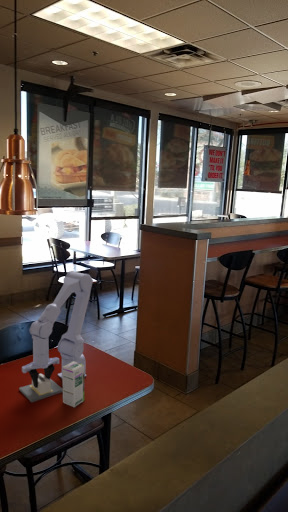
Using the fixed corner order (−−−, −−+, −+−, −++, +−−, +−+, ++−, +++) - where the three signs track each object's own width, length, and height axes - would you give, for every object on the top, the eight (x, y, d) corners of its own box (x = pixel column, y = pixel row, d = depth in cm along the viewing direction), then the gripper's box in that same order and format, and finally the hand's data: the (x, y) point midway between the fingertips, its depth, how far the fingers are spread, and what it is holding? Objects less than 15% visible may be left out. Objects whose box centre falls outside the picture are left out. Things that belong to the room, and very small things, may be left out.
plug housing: (41, 382, 158) (41, 371, 157) (50, 391, 152) (50, 379, 151) (32, 385, 156) (31, 374, 155) (41, 394, 150) (41, 382, 149)
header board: (50, 380, 162) (50, 371, 162) (63, 391, 154) (63, 382, 153) (19, 390, 154) (19, 380, 154) (31, 402, 146) (31, 392, 145)
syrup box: (74, 407, 143) (74, 370, 141) (62, 402, 146) (62, 365, 144) (84, 401, 148) (85, 364, 146) (72, 396, 151) (72, 360, 149)
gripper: (27, 360, 144) (27, 395, 146) (63, 350, 153) (63, 383, 155) (19, 353, 149) (19, 387, 151) (54, 344, 158) (54, 376, 161)
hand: (41, 385), depth 154 cm, fingers closed on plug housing, 4 cm apart
